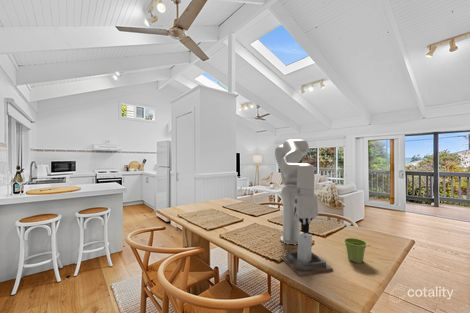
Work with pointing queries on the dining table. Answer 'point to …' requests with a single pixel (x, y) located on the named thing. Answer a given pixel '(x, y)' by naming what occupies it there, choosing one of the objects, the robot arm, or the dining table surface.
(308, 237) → the skincare box
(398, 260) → the dining table surface
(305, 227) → the robot arm
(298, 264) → the slot holder
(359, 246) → the plant pot
